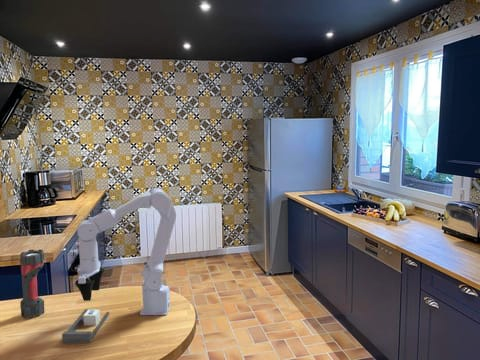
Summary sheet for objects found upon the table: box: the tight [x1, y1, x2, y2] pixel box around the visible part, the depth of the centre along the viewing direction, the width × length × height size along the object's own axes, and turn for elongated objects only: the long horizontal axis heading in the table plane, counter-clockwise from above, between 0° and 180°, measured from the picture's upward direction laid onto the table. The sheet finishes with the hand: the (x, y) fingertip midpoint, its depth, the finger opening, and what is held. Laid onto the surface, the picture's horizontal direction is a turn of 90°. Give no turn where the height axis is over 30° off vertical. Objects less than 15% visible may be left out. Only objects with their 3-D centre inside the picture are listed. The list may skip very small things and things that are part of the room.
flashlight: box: [19, 249, 46, 319], centre depth 131 cm, size 8×8×23 cm
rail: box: [61, 308, 110, 344], centre depth 123 cm, size 8×17×3 cm, turn 0°
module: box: [83, 309, 101, 326], centre depth 127 cm, size 4×4×4 cm
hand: (91, 295), depth 126 cm, fingers open, 7 cm apart
